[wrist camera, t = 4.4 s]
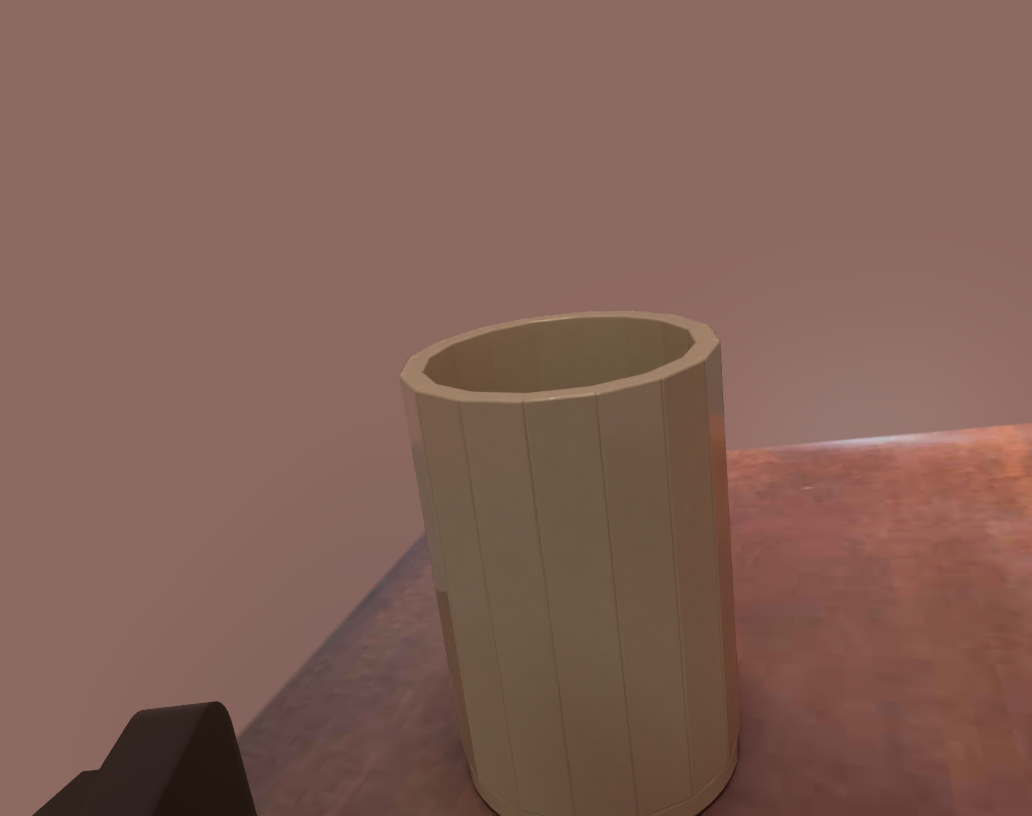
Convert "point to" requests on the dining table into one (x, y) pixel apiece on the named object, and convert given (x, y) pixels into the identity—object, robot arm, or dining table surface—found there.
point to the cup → (582, 559)
